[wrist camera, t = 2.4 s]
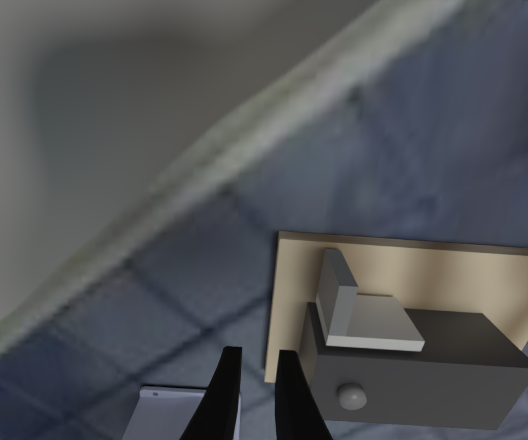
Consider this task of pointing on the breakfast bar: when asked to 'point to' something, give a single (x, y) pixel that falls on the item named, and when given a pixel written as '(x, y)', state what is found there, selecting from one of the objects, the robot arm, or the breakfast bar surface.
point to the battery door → (360, 312)
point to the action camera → (418, 374)
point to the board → (400, 281)
